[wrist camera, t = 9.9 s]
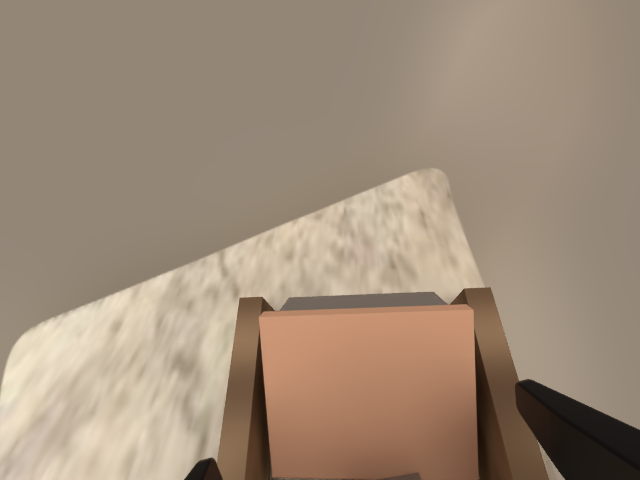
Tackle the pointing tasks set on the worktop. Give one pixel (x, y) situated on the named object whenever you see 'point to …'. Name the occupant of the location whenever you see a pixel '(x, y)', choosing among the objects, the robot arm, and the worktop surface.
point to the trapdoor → (371, 387)
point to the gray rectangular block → (404, 477)
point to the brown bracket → (491, 400)
